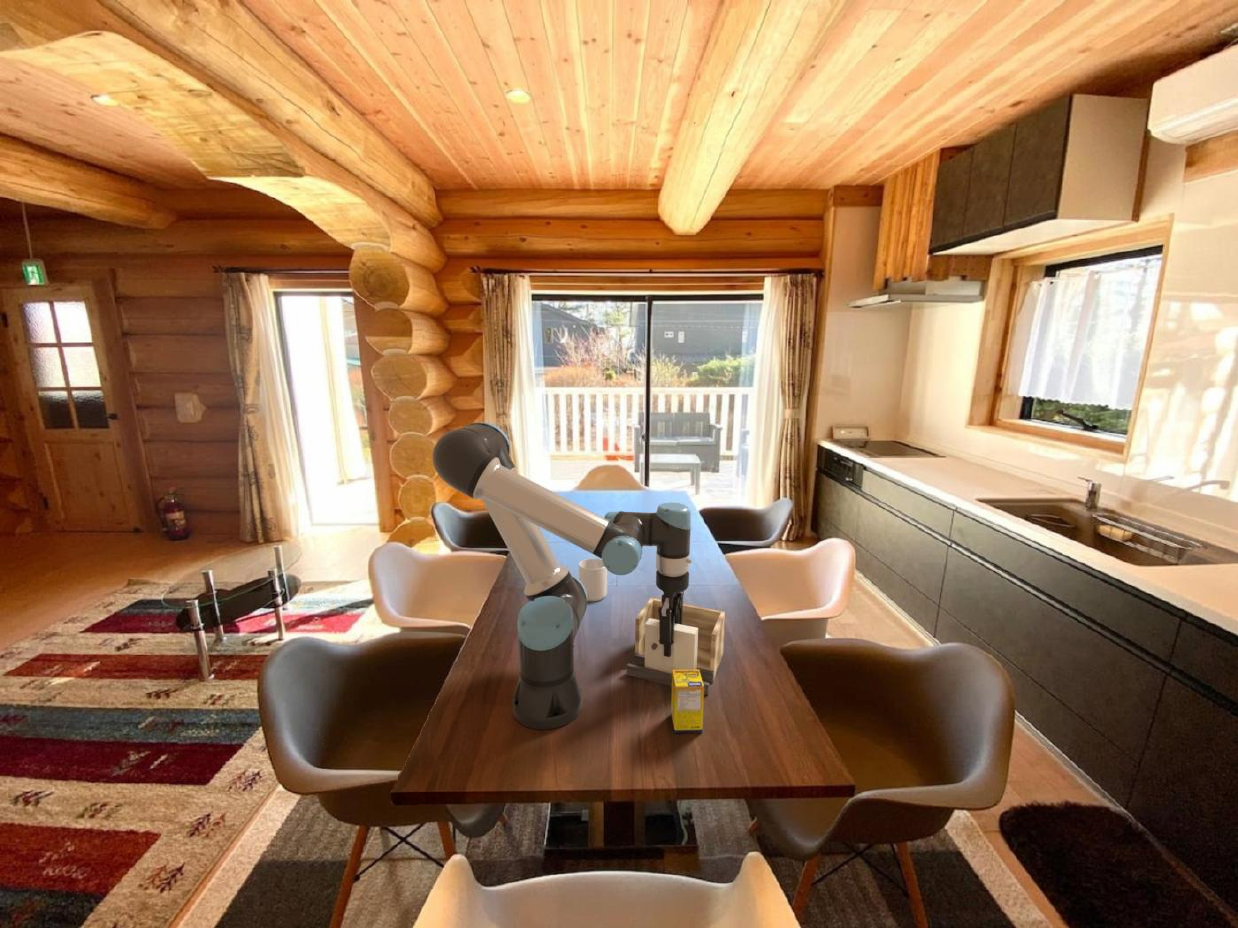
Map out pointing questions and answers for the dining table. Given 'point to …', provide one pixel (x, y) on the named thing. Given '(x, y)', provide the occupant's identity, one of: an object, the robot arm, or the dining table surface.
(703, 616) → the carcass
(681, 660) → the door
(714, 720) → the dining table surface
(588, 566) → the mug
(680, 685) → the supplement box
